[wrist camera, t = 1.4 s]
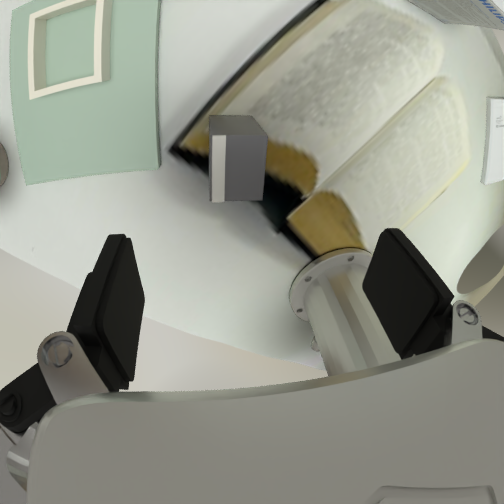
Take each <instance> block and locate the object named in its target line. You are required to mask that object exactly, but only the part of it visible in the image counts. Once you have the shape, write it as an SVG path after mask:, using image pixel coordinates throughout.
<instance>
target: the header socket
mask: <svg viewBox="0 0 504 504" xmlns="http://www.w3.org/2000/svg"><path fill="white" fill-rule="evenodd" d="M112 3H113V0H66V1H63V2H60V3H57V4H54V5H52V6H49V7H47V8H44V9H42V10H39V11H37V12H35V13H32V14H30V18H29V31H28V85H29V99H30V100H32V99H35V98H38V97H41V96H44V95H48V94H51V93H55V92H58V91H62V90H66V89H70V88H74V87H78V86H83V85H87V84H92V83H97V82H102V81H107V80H110V34H111V15H112ZM95 4H96V12H95V28H94V76H89V77H85V78H80V79H76V80H72V81H68V82H64V83H61V84H57V85H54V86H50V87H47V88H46V61H45V52H46V25H47V20H48V19H50V18H53V17H56V16H59V15H61V14H64V13H67V12H70V11H74V10H77V9H80V8H84V7H87V6H91V5H95Z"/></svg>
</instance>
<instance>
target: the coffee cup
mask: <svg viewBox="0 0 504 504" xmlns="http://www.w3.org/2000/svg"><path fill="white" fill-rule="evenodd" d="M7 174H8V158H7V155H6V152H5V150H4V148H3V146H2V145H1V143H0V186H1V185H2V184H3V183H4V181H5V180H6V177H7Z"/></svg>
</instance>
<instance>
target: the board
mask: <svg viewBox="0 0 504 504" xmlns="http://www.w3.org/2000/svg"><path fill="white" fill-rule="evenodd" d="M63 1H66V0H33V1H31V2H29V3H27V4H24V5H22V6H20V7H18V8H16V9H14V10H12V20H11V32H10V88H11V101H12V111H13V120H14V127H15V134H16V140H17V146H18V151H19V156H20V161H21V166H22V170H23V174H24V178H25V182H26V186H27V185H32V184H38V183H44V182H50V181H56V180H63V179H70V178H77V177H84V176H92V175H101V174H110V173H120V172H131V171H144V170H158V169H159V167H160V165H161V163H160V147H159V126H158V37H159V18H160V4H161V0H113V3H112V15H111V34H110V80H107V81H102V82H97V83H92V84H87V85H83V86H78V87H74V88H70V89H66V90H62V91H58V92H55V93H51V94H48V95H44V96H41V97H38V98H35V99H32V100H30V99H29V85H28V31H29V18H30V14H32V13H35V12H37V11H39V10H42V9H44V8H47V7H49V6H52V5H54V4H57V3H60V2H63ZM95 12H96V4H95V5H91V6H87V7H84V8H80V9H77V10H74V11H70V12H67V13H64V14H61V15H59V16H56V17H53V18H50V19H48V20H47V25H46V52H45V61H46V88H47V87H50V86H54V85H57V84H61V83H64V82H68V81H72V80H76V79H80V78H85V77H89V76H94V28H95Z"/></svg>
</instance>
